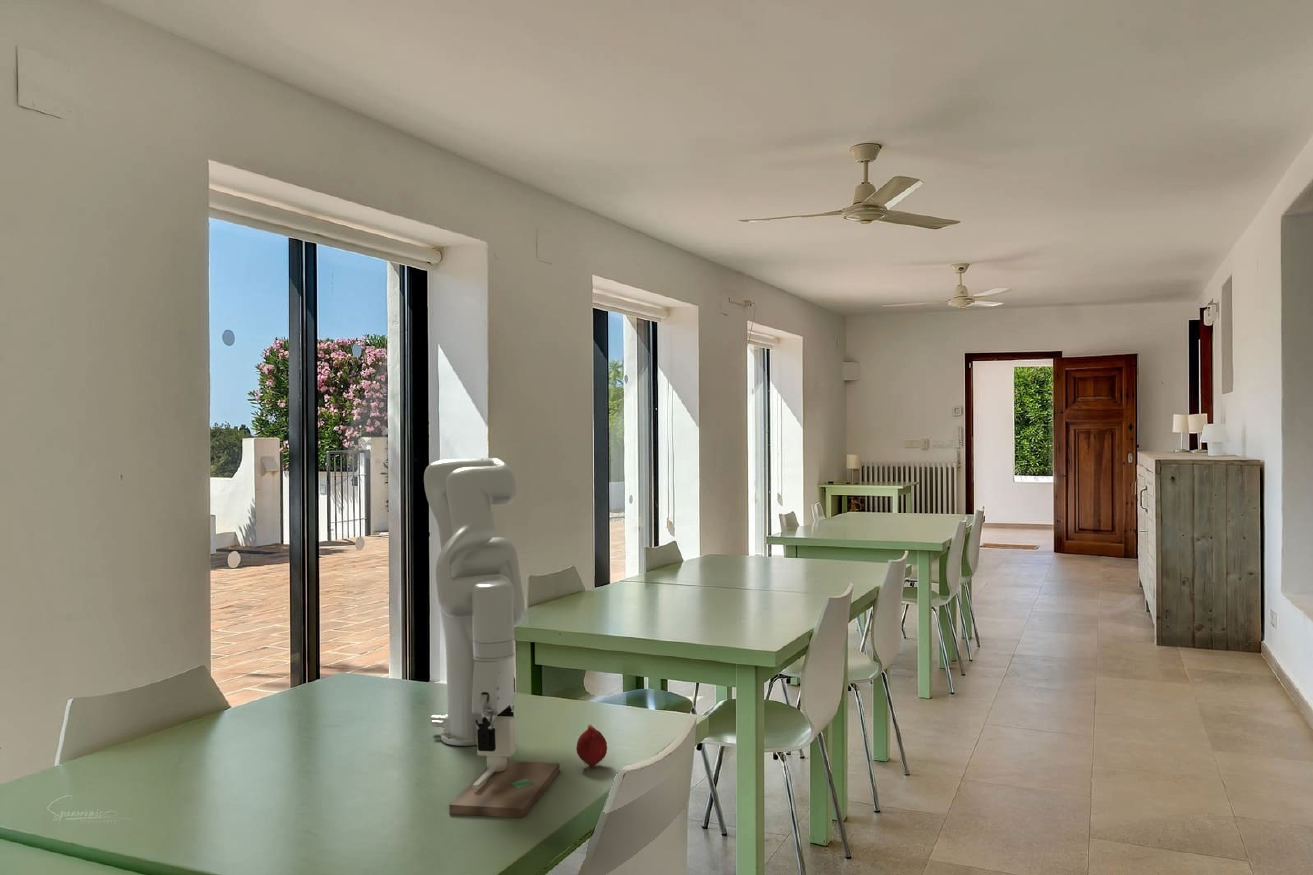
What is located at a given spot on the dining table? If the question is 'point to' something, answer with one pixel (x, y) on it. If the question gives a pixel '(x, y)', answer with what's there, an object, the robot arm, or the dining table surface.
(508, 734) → the tuning peg
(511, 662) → the robot arm
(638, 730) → the dining table surface
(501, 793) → the board
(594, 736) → the onion
